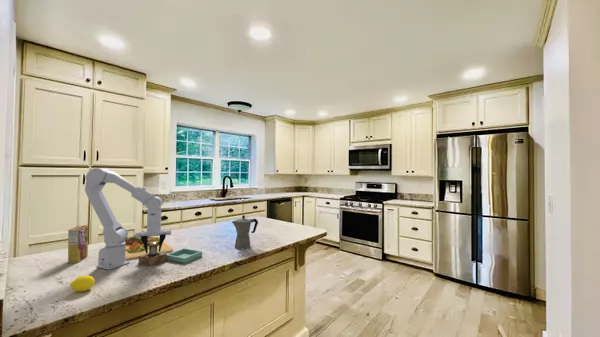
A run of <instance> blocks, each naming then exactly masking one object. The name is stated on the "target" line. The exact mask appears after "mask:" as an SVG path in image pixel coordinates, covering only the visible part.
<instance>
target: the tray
mask: <svg viewBox="0 0 600 337" xmlns="http://www.w3.org/2000/svg"><path fill="white" fill-rule="evenodd" d="M202 257H203V251H202V250H197V249H190V248H185V247H184V248H181V249H179V250H175V251H172V252H170V253H167V259H166V261H169V262H173V263H179V264H183V265H185V264H188V263H190V262H192V261H195V260H197V259H199V258H202Z"/></svg>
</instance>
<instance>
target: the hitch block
mask: <svg viewBox="0 0 600 337" xmlns="http://www.w3.org/2000/svg"><path fill="white" fill-rule="evenodd" d="M167 254H168V253H163V252H157V255H156V256H153V257H151V256H149V253H146V254H143V255H140V256H139V258H138V264H139V265H144V266H149V267H153V266H155V265H158V264H162V263H163V262H164V263H165V262H166V261H167V260H166V259H167Z"/></svg>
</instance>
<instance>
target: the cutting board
mask: <svg viewBox="0 0 600 337" xmlns="http://www.w3.org/2000/svg"><path fill="white" fill-rule="evenodd" d="M154 241H158V242H159V243H160V237H158V236H149V237H148V242H147V244H148V243H149V242H154ZM125 242H126V252H125V261H131V260H137V259H139V256H140V255H143V254H146V251H145V247H144V244H143V242H142V241H141V237H138V238H135V234H133V236H130V237H128V236H127V238H126V239H125ZM147 246H148V252H147V253H149V245H147ZM157 252H163V253H167V254H170V253H172V252H174V248H173V247H172V246H171V245H169V244H167V243H166V242H165V241H163V244H162V246H161V251H159V244H158V245H157Z"/></svg>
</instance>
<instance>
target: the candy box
mask: <svg viewBox="0 0 600 337" xmlns="http://www.w3.org/2000/svg"><path fill="white" fill-rule="evenodd" d="M88 226H89V225H85V224H83V225H76V226H75V227H72V228H70V229H68V230H67V233H68V235H67V240H68V243H67V257H68V258H67V263H68V264H76V263H77V264H78V263H80V262H81V261H83V260H84V259H86V258H87V257H89V256H88V255H89V253H88V252H89V250H88V249H89V239H88V238H89V235H88V233H89V232H88V230H89V229H88V228H89V227H88Z"/></svg>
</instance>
